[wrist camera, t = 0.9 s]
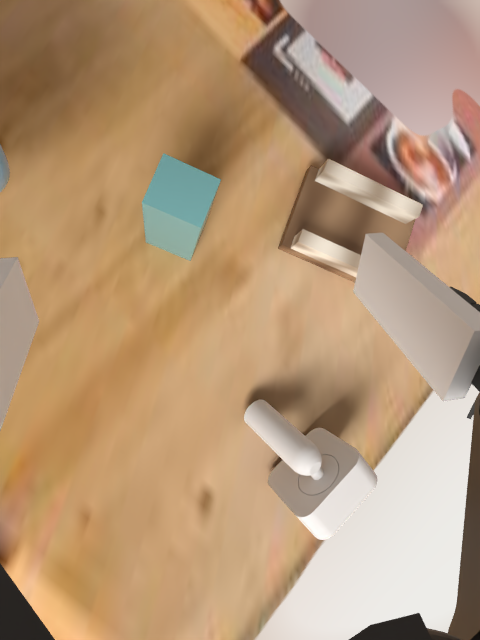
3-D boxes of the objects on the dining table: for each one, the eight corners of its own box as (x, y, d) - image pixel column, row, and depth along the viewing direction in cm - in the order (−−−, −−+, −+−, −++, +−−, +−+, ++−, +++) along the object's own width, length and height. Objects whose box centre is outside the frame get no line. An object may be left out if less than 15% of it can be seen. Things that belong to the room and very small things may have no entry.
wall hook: (273, 375, 43) (324, 401, 33) (324, 438, 46) (384, 478, 37) (217, 428, 41) (255, 471, 32) (274, 491, 44) (323, 547, 35)
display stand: (278, 248, 45) (289, 237, 41) (306, 171, 46) (319, 154, 43) (385, 295, 47) (405, 289, 43) (408, 220, 49) (430, 208, 45)
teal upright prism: (146, 242, 42) (141, 202, 31) (162, 204, 43) (163, 153, 32) (190, 260, 43) (201, 228, 32) (205, 223, 43) (221, 179, 33)
